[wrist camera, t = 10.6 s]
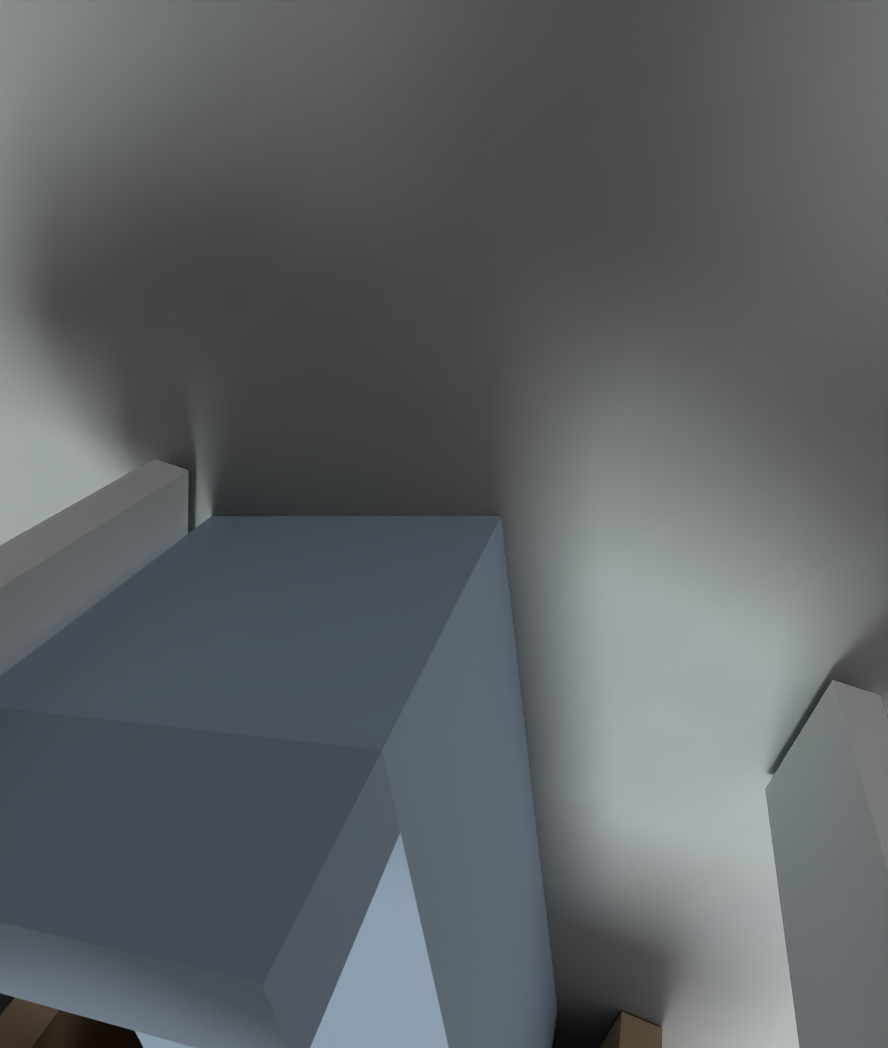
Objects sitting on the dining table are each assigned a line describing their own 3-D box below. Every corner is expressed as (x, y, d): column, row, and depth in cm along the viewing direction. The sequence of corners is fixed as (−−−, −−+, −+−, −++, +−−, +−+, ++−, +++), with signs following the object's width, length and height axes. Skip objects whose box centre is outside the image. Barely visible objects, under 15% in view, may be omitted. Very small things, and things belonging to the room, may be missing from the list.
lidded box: (217, 512, 15) (-247, 862, 7) (503, 511, 13) (262, 984, 5) (348, 956, 20) (163, 1399, 13) (558, 1001, 18) (478, 1548, 11)
